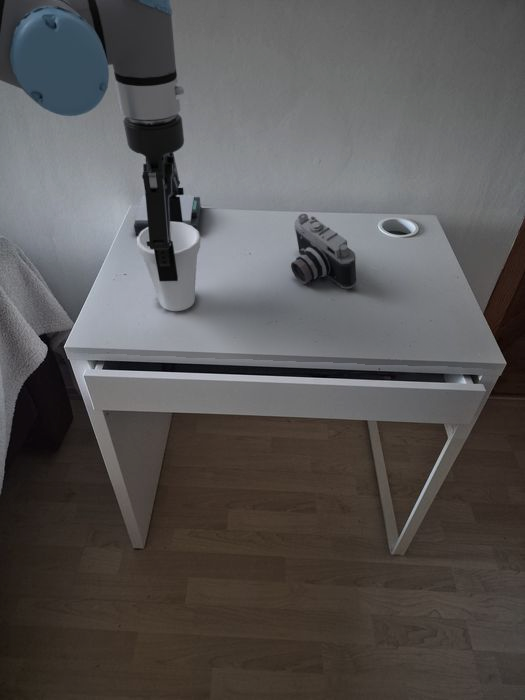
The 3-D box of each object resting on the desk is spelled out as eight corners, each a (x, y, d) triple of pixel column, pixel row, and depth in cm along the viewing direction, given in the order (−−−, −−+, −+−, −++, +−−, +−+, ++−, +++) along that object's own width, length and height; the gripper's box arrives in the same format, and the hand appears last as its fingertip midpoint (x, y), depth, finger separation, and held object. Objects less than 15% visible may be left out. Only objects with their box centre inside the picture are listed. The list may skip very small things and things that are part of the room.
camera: (275, 266, 91) (266, 227, 83) (308, 245, 92) (302, 205, 85) (324, 308, 82) (319, 269, 74) (360, 283, 83) (359, 242, 76)
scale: (135, 235, 95) (132, 219, 92) (144, 206, 104) (142, 190, 101) (197, 236, 95) (195, 219, 93) (200, 207, 104) (199, 191, 102)
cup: (214, 310, 78) (209, 245, 69) (158, 326, 75) (146, 260, 65) (194, 279, 84) (188, 216, 75) (142, 292, 81) (129, 228, 72)
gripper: (173, 153, 49) (191, 302, 64) (187, 87, 67) (199, 216, 82) (104, 153, 49) (138, 303, 64) (136, 86, 66) (157, 217, 81)
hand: (172, 255), depth 73 cm, fingers open, 13 cm apart
